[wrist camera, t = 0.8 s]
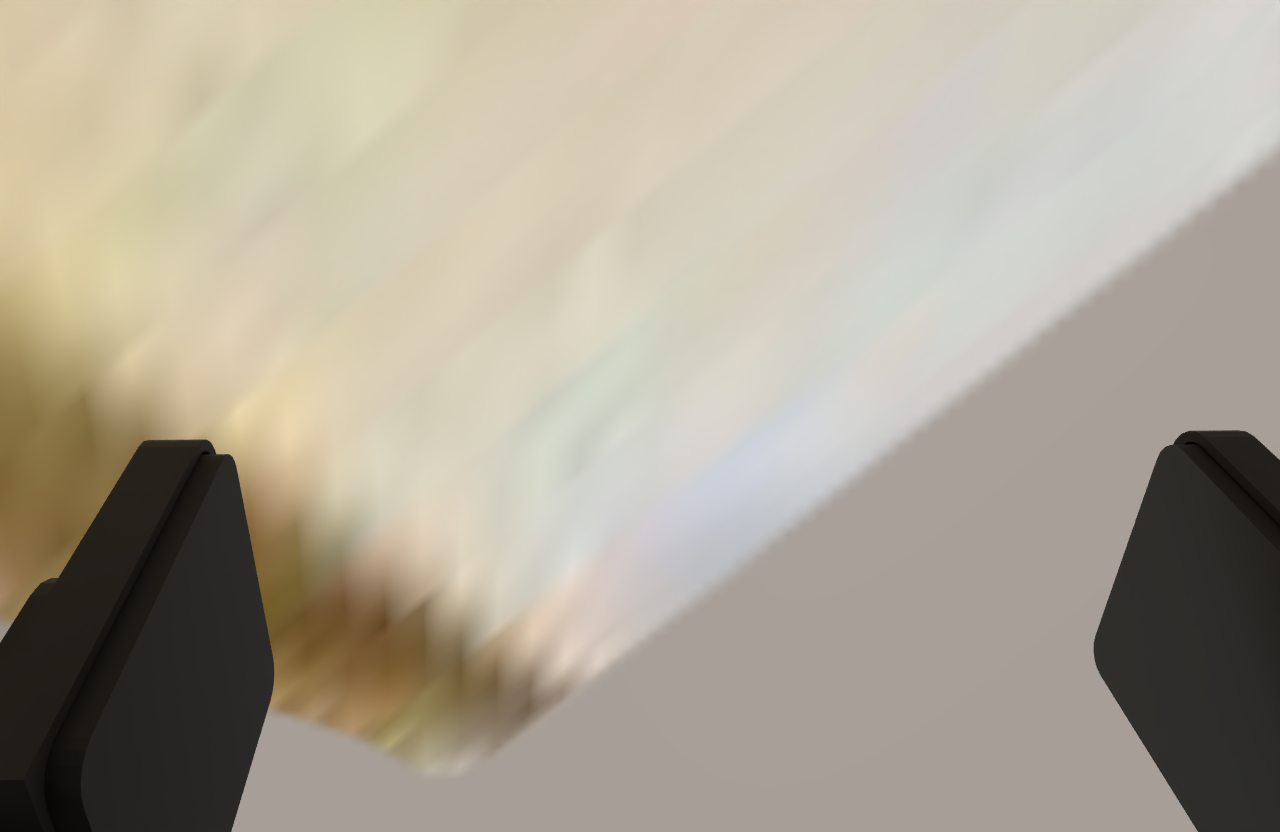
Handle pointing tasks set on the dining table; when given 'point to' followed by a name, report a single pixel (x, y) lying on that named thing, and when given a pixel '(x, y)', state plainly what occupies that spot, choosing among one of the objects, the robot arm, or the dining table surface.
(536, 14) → the dining table surface
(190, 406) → the dining table surface
